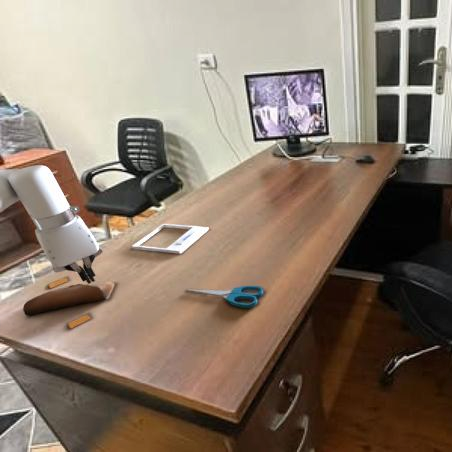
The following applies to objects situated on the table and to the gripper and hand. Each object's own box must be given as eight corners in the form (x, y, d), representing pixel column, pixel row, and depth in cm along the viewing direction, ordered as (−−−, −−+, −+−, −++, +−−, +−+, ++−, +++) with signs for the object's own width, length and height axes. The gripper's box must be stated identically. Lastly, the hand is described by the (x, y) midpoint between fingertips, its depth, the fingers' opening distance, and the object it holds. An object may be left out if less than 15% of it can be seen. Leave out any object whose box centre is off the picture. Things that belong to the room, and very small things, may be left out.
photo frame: (179, 250, 104) (131, 245, 109) (180, 253, 104) (132, 248, 110) (207, 226, 116) (163, 223, 121) (208, 229, 117) (164, 226, 122)
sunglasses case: (116, 280, 94) (103, 270, 89) (115, 304, 91) (101, 296, 85) (42, 295, 91) (24, 285, 85) (38, 321, 88) (18, 313, 82)
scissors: (252, 305, 80) (178, 297, 85) (253, 308, 80) (179, 300, 86) (264, 286, 86) (194, 280, 91) (265, 289, 86) (195, 283, 91)
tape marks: (70, 328, 80) (70, 328, 80) (48, 285, 96) (48, 284, 96) (90, 319, 82) (89, 318, 82) (65, 278, 98) (65, 277, 98)
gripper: (86, 202, 88) (116, 261, 97) (13, 228, 80) (54, 290, 89) (94, 210, 84) (125, 271, 93) (18, 237, 75) (60, 302, 84)
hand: (90, 280), depth 91 cm, fingers closed
